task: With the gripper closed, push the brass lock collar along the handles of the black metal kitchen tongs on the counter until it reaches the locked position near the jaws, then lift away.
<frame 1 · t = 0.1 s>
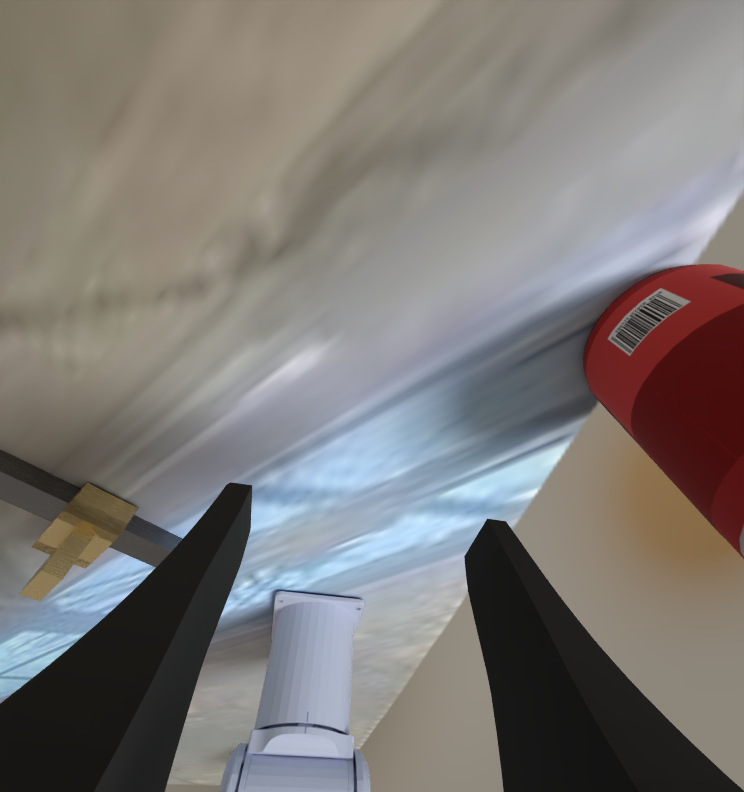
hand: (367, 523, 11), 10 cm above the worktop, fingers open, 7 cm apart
canned food: (652, 337, 19), on the worktop
tongs: (98, 511, 26), on the worktop
lock collar: (71, 546, 24), point 3 cm above the worktop, slide at 0.0 cm
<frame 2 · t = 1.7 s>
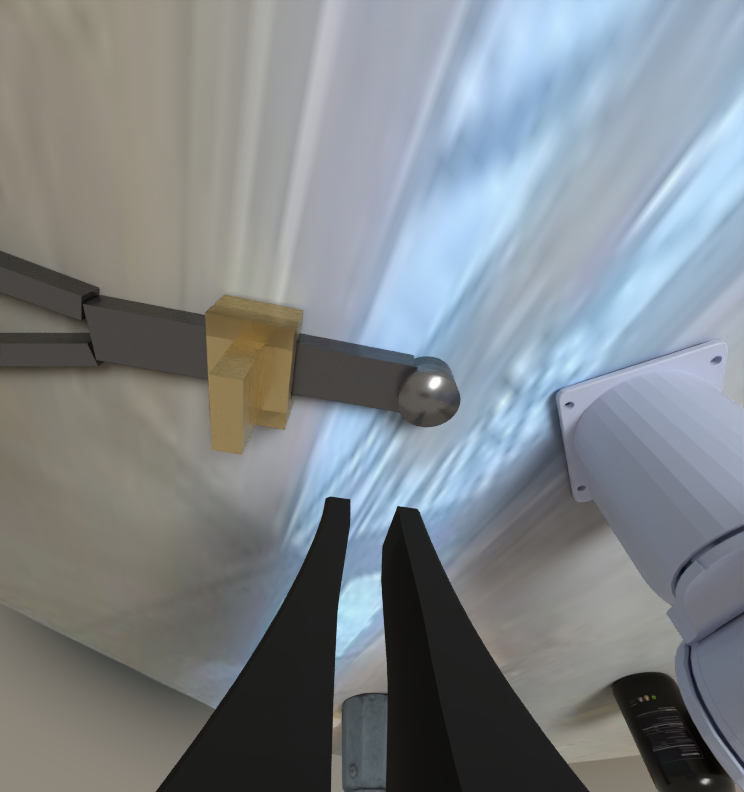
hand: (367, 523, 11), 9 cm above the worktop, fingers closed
moka pot: (379, 703, 46), on the worktop
supplement bottle: (640, 680, 42), on the worktop
tongs: (263, 351, 18), on the worktop
lock collar: (246, 381, 16), point 3 cm above the worktop, slide at 0.0 cm
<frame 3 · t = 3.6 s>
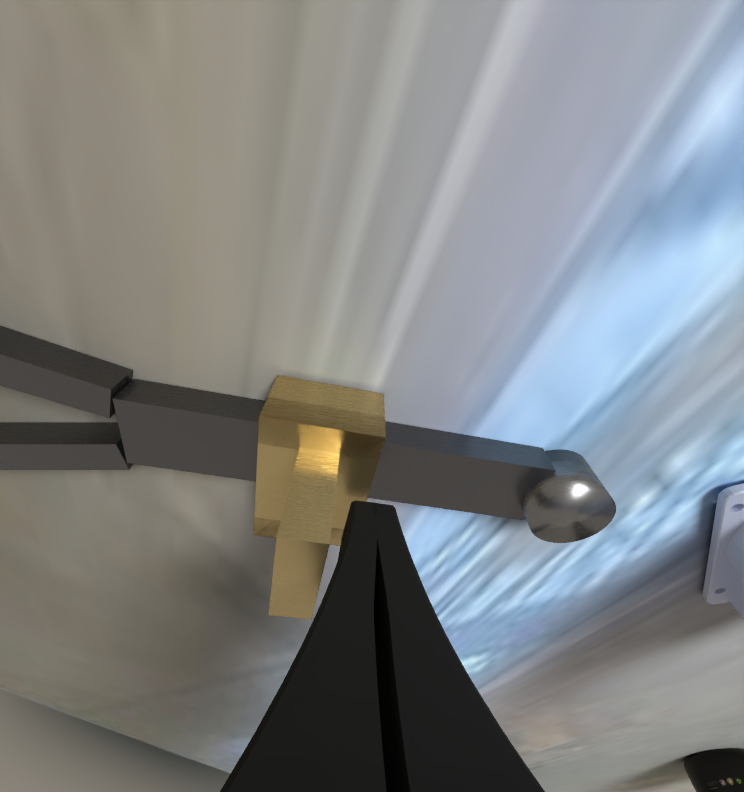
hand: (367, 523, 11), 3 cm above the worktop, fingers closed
supplement bottle: (715, 754, 38), on the worktop
tongs: (345, 444, 14), on the worktop
lock collar: (310, 500, 11), point 3 cm above the worktop, slide at 0.9 cm, touching gripper
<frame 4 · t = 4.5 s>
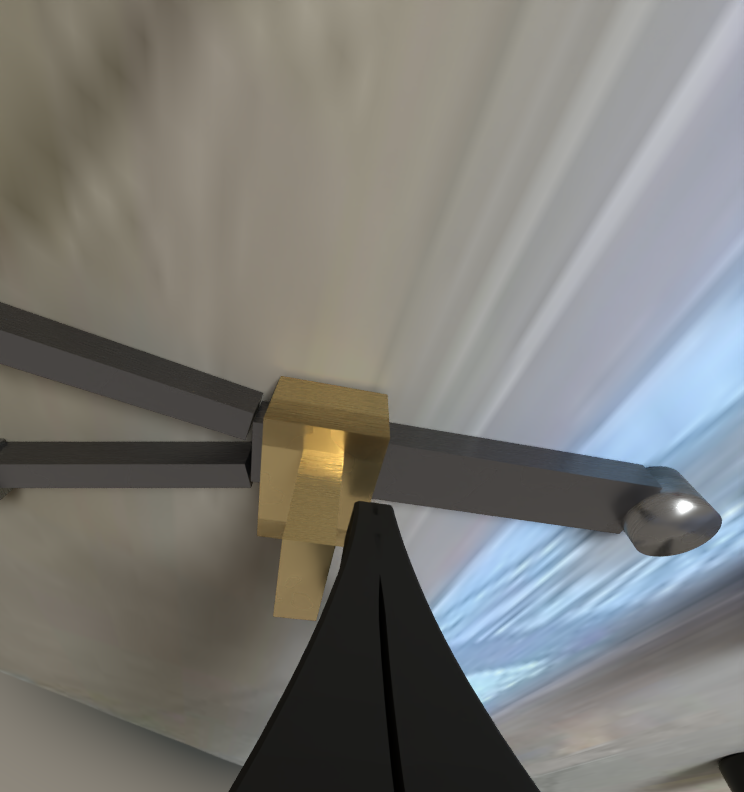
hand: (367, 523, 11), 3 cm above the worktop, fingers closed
tongs: (452, 461, 14), on the worktop
lock collar: (314, 501, 11), point 3 cm above the worktop, slide at 5.1 cm, touching gripper
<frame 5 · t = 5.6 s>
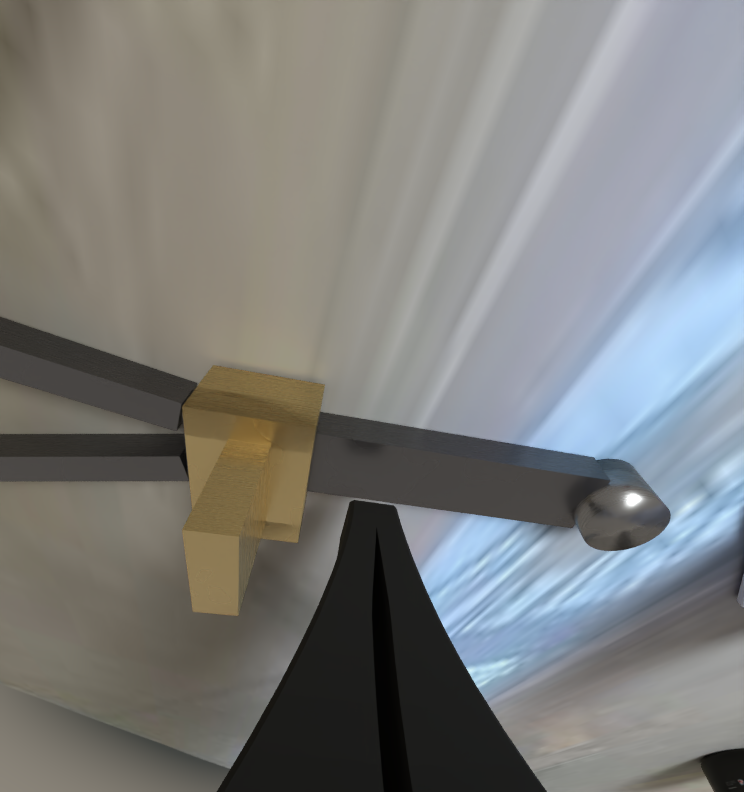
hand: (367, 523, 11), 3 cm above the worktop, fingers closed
supplement bottle: (732, 753, 38), on the worktop
tongs: (399, 454, 14), on the worktop
lock collar: (245, 493, 11), point 3 cm above the worktop, slide at 5.1 cm
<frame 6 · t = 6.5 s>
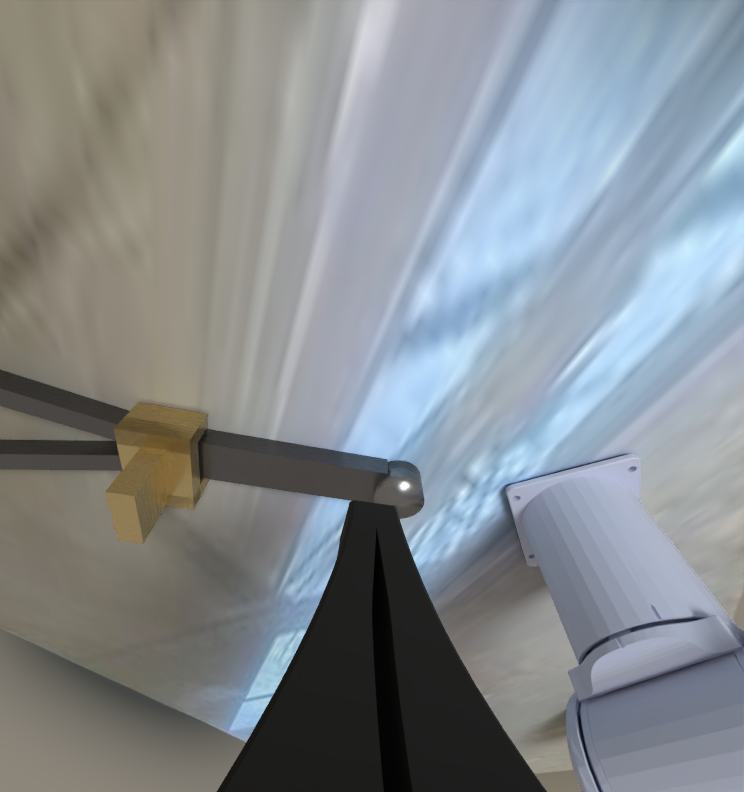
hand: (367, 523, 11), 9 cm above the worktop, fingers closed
tongs: (263, 455, 22), on the worktop
lock collar: (153, 477, 19), point 3 cm above the worktop, slide at 5.1 cm
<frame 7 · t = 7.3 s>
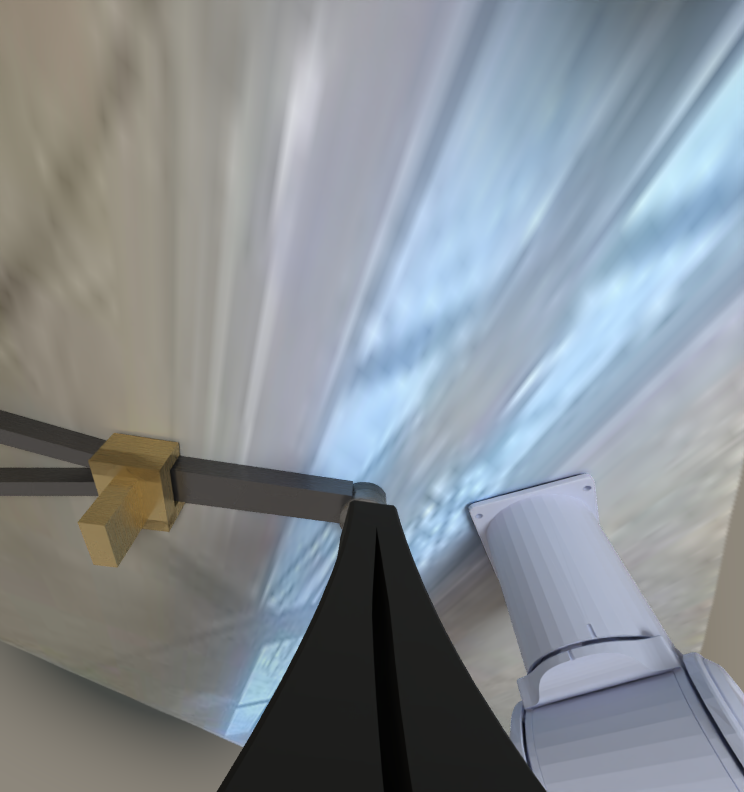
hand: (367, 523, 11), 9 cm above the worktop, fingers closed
tongs: (235, 479, 23), on the worktop
lock collar: (128, 504, 20), point 3 cm above the worktop, slide at 5.1 cm
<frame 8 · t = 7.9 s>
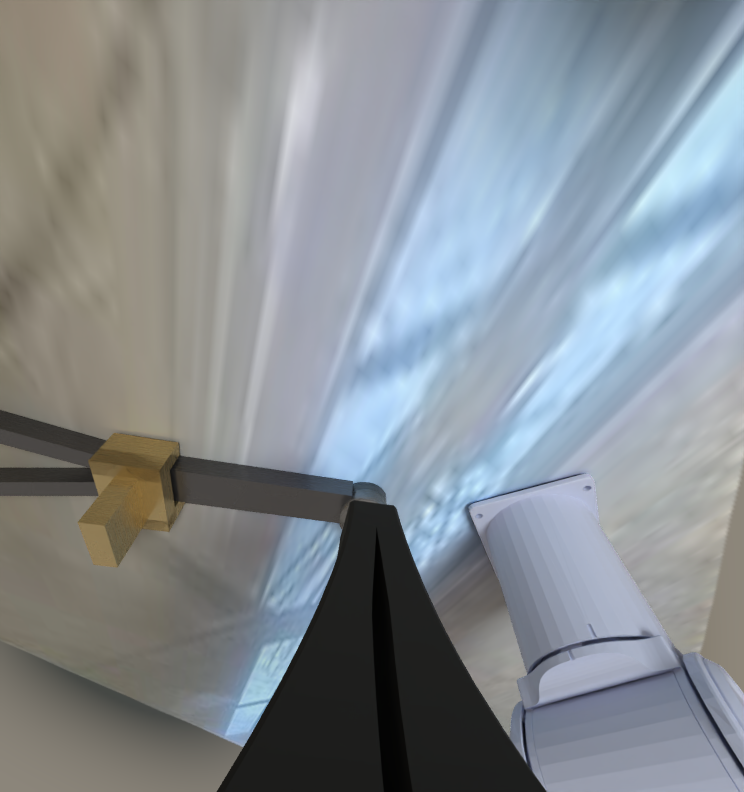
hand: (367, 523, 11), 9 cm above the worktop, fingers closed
tongs: (235, 479, 23), on the worktop
lock collar: (128, 504, 20), point 3 cm above the worktop, slide at 5.1 cm
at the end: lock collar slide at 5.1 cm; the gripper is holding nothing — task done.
